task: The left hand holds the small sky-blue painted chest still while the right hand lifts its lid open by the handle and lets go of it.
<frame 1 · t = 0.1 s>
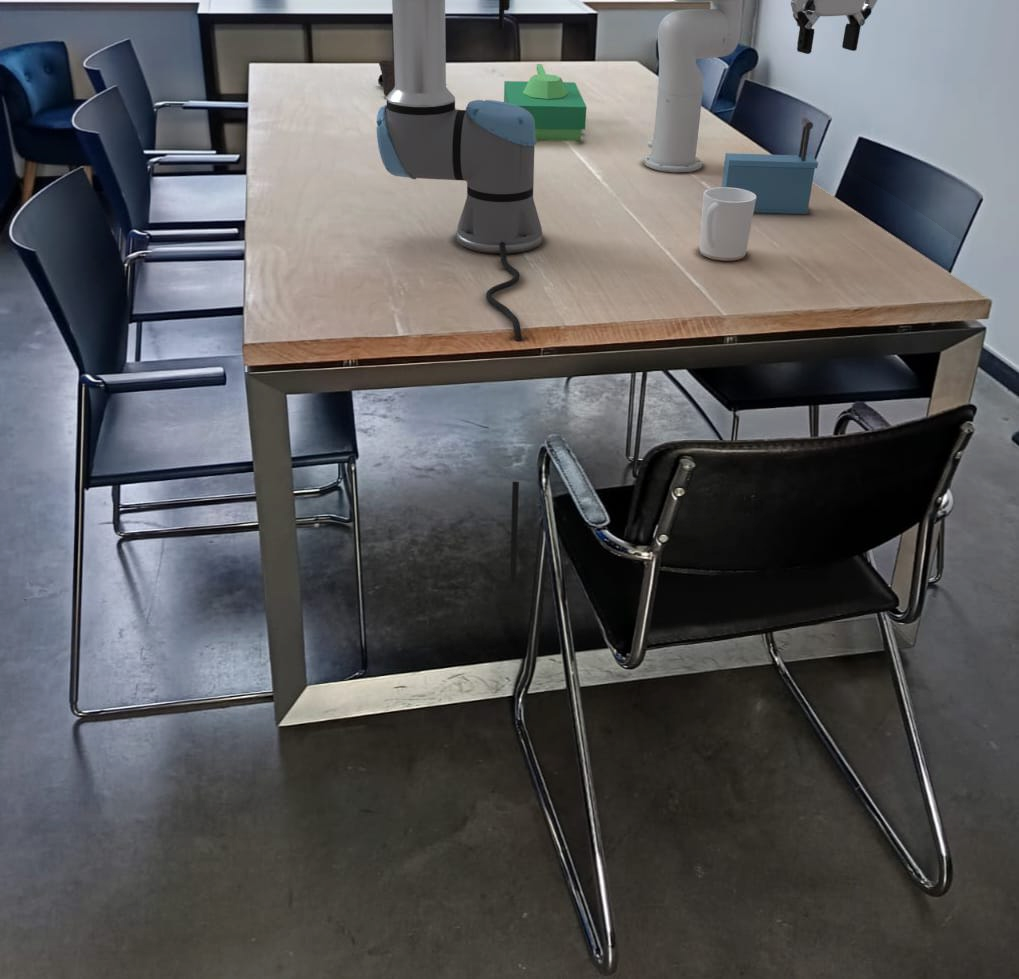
left hand: (468, 26, 224), 28 cm above the table, tool pointing down, fingers open, 13 cm apart
right hand: (826, 50, 190), 31 cm above the table, tool pointing down, fingers open, 9 cm apart
mug: (719, 255, 191), on the table
axe head: (403, 91, 300), on the table
chest: (762, 209, 215), on the table
lid: (773, 141, 208), point 13 cm above the table, hinge at 0.0°
toy tank: (541, 126, 269), on the table
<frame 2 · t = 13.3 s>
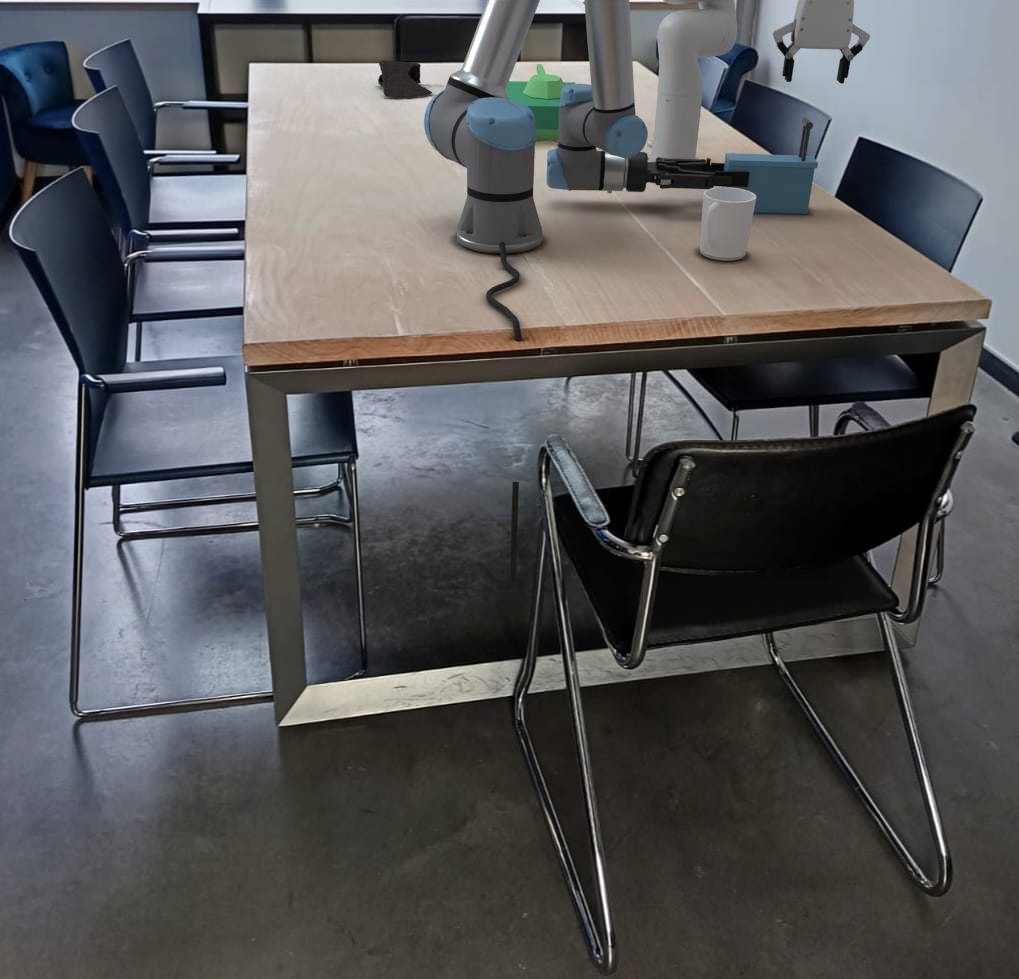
left hand: (745, 175, 212), 7 cm above the table, tool horizontal, fingers closed on chest, 5 cm apart
right hand: (813, 81, 202), 24 cm above the table, tool pointing down, fingers open, 9 cm apart
chest: (762, 209, 215), on the table, touching left hand
everything else where it was.
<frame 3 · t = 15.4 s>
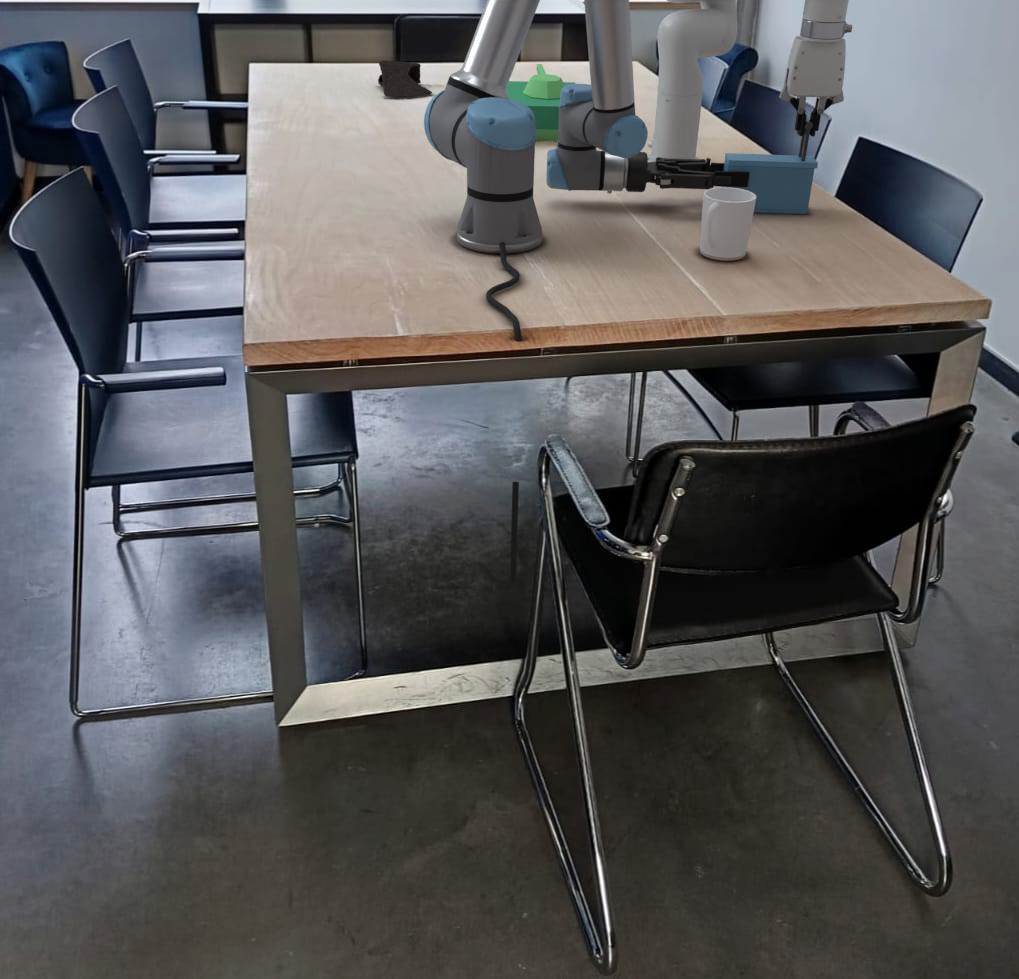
left hand: (745, 175, 212), 7 cm above the table, tool horizontal, fingers closed on chest, 5 cm apart
right hand: (805, 134, 207), 15 cm above the table, tool pointing down, fingers closed
chest: (762, 209, 215), on the table, touching left hand
lid: (773, 141, 208), point 13 cm above the table, hinge at -0.1°, touching right hand
everything else where it was.
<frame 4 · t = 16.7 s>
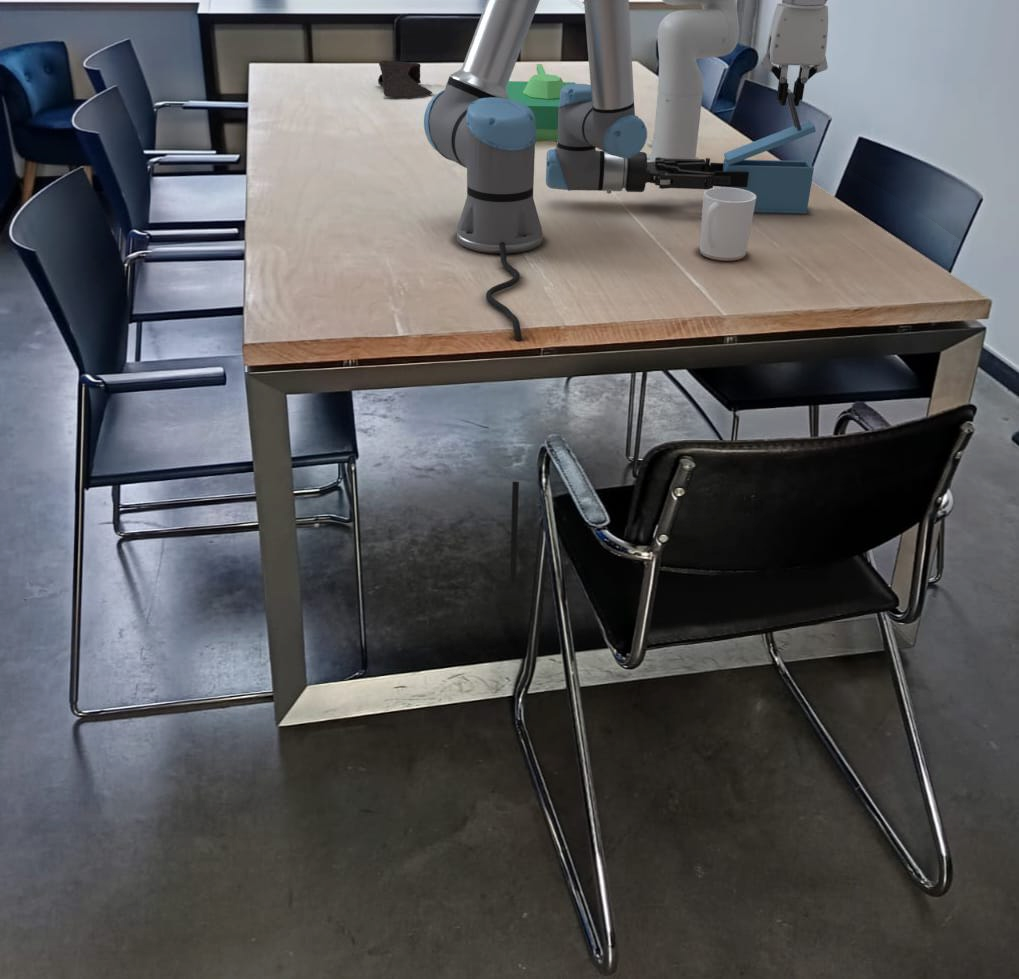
left hand: (745, 175, 212), 6 cm above the table, tool horizontal, fingers closed on chest, 5 cm apart
right hand: (788, 103, 205), 20 cm above the table, tool pointing down, fingers closed on lid
chest: (762, 208, 215), on the table, touching left hand
lid: (763, 124, 207), point 16 cm above the table, hinge at 23.4°, touching right hand
everything else where it was.
when the left hand's fingers open (6 cm above the table, at t = 22.6 s): chest stays where it is, on the table.
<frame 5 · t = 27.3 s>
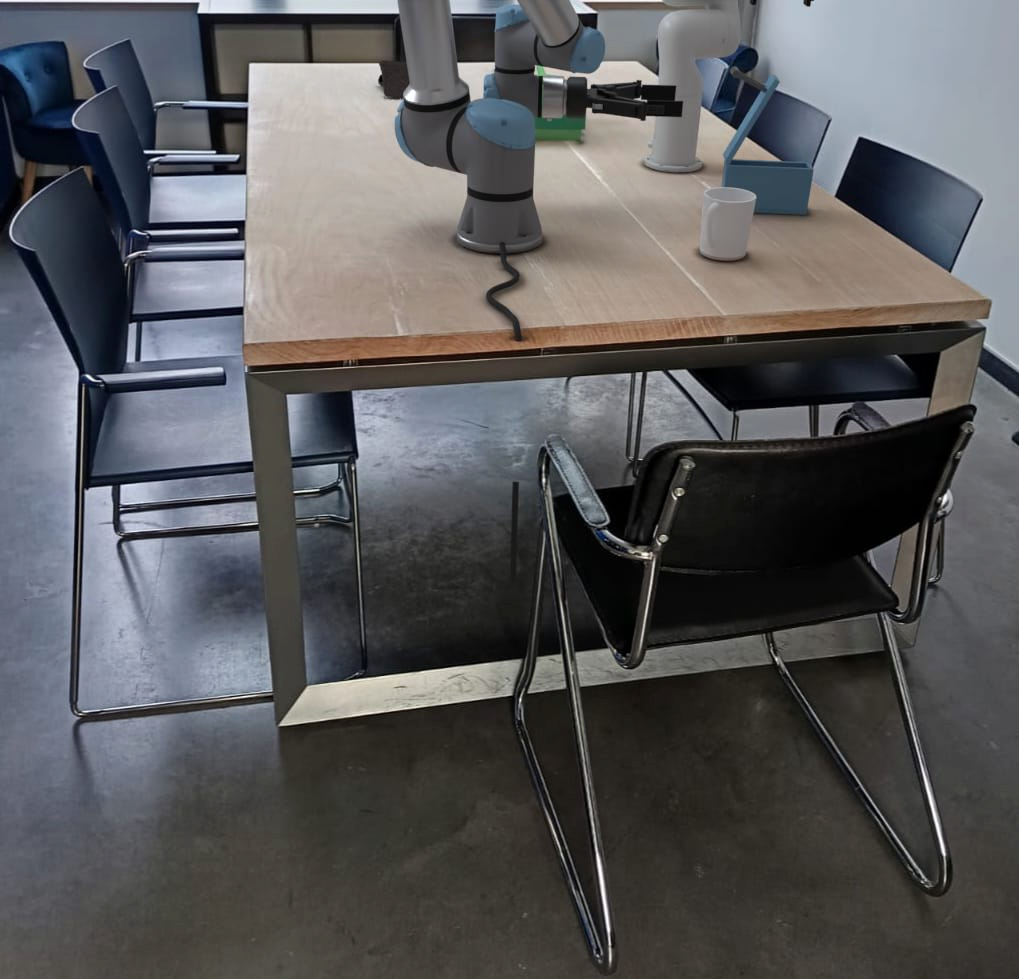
left hand: (679, 100, 205), 20 cm above the table, tool horizontal, fingers open, 13 cm apart
right hand: (779, 4, 196), 37 cm above the table, tool pointing down, fingers open, 9 cm apart
chest: (762, 209, 215), on the table
lid: (733, 109, 206), point 19 cm above the table, hinge at 64.6°
everything else where it was.
at the end: lid at +65° (first picture: +0°); the left hand is holding nothing; the right hand is holding nothing; chest tilted 0°; chest never tilted more than 4° during the clip; chest moved 0.3 cm from its start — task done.
